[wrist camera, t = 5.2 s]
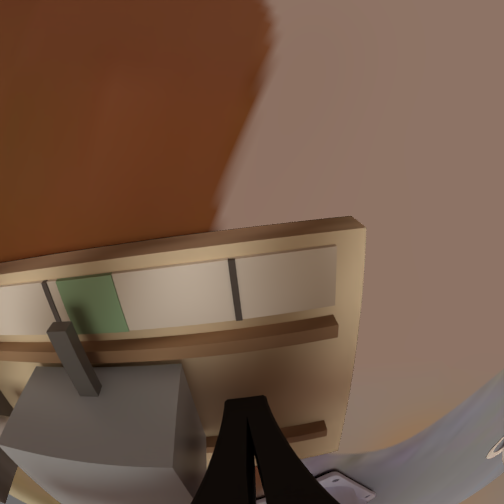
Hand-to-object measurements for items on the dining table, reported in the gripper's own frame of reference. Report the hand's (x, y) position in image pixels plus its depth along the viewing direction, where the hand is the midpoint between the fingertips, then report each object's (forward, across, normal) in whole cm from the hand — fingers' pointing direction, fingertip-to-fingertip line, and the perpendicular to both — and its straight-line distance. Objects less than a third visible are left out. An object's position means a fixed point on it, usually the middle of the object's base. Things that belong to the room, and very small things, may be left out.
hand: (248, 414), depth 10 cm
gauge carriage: (+1, +6, -1) cm, 7 cm away
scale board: (+2, +5, 0) cm, 5 cm away
